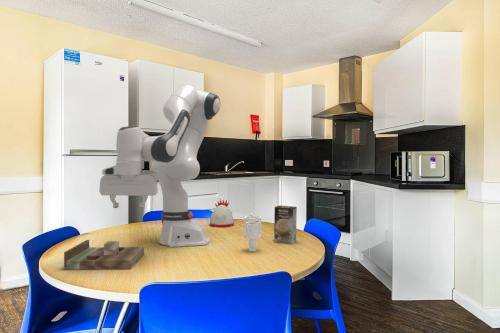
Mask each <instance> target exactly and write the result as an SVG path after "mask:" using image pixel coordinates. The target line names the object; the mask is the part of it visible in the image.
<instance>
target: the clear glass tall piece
mask: <svg viewBox="0 0 500 333" xmlns="http://www.w3.org/2000/svg"><path fill="white" fill-rule="evenodd" d="M243 231H244V232H243V238H245V239H247V240H248V251H249V252H256V251H257V240H258V239H261V238H262V216H261V215H260V216H259V215H254V213H251V212H249V215H246V216H243Z"/></svg>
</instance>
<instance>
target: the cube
mask: <svg viewBox="0 0 500 333" xmlns="http://www.w3.org/2000/svg"><path fill="white" fill-rule="evenodd" d="M103 247H104V255H116V254H117V253H118V252H119V247H120V241H119V240H113V241H112V240H109V241H106V242H104V243H103Z"/></svg>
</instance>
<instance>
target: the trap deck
mask: <svg viewBox="0 0 500 333" xmlns="http://www.w3.org/2000/svg"><path fill="white" fill-rule="evenodd" d="M144 255H145V246H119V252H118V253H117V254H116V255H104V246H103V247H101V246H99V247H90V239H86V240H84V241H82V242H81V243H78V244H75V246H73V247H71V248H69V249H67V250H65V251H64V252H63V270H64V271H79V270H80V271H81V270H82V271H84V270H85V271H87V270H88V271H89V270H91V271H92V270H94V271H95V270H97V271H98V270H132V268H133V267H134V266H135V265H136V264H137V263H138V262H139V261H140V260H141V259H142V258H143V256H144Z"/></svg>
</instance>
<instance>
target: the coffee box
mask: <svg viewBox="0 0 500 333" xmlns="http://www.w3.org/2000/svg"><path fill="white" fill-rule="evenodd" d="M297 210H298V209H297V206H291V205H290V206H289V205H277V206H275V207H274V222H273V223H274V226H273V227H274V228H273V232H274V233H273V234H274V235H273V242H275V243H280V244H281V243H283V244H291V245H294V243H296V242H297V214H298V213H297Z"/></svg>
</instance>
